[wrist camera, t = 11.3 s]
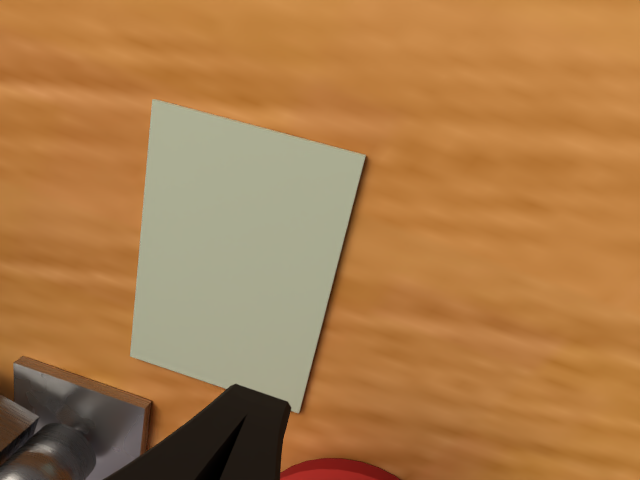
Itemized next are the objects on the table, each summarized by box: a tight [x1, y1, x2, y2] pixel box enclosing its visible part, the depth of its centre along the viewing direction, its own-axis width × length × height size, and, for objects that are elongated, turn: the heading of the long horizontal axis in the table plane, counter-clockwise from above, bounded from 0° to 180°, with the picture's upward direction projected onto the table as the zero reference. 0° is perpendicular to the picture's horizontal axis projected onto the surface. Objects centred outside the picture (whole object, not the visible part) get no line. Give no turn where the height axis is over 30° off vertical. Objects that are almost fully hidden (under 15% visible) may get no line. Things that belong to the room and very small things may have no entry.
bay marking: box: [130, 99, 366, 413], centre depth 17 cm, size 10×7×1 cm
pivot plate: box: [14, 356, 151, 480], centre depth 21 cm, size 6×6×1 cm
